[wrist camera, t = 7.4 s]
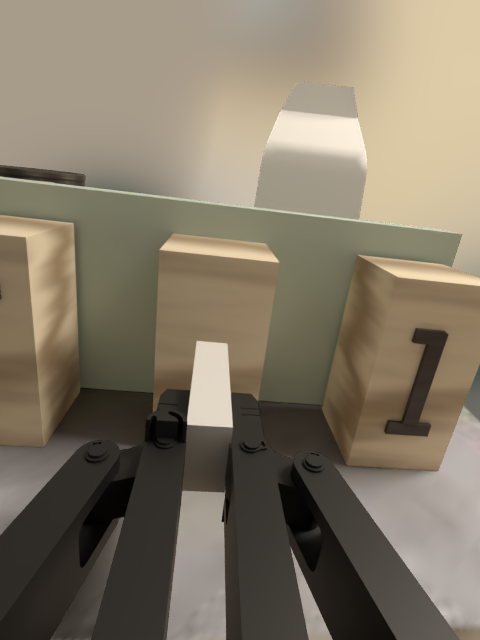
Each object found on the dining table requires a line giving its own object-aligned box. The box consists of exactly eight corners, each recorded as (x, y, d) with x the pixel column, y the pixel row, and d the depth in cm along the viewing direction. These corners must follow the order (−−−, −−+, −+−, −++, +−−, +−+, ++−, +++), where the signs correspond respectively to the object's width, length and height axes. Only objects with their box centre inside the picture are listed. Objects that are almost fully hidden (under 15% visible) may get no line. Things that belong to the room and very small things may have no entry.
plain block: (249, 453, 23) (279, 262, 19) (151, 448, 22) (159, 249, 18) (243, 399, 28) (265, 243, 24) (164, 394, 28) (173, 233, 24)
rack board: (405, 411, 30) (462, 234, 25) (-17, 380, 27) (-46, 173, 22) (392, 394, 32) (442, 229, 27) (2, 364, 29) (-21, 174, 24)
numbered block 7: (41, 450, 21) (23, 238, 17) (-71, 444, 20) (-119, 223, 16) (80, 391, 27) (73, 223, 23) (-7, 385, 26) (-30, 211, 22)
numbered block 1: (440, 473, 23) (511, 290, 19) (348, 468, 23) (400, 278, 18) (395, 414, 29) (442, 264, 25) (321, 409, 28) (357, 254, 24)
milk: (234, 326, 43) (266, 62, 34) (242, 298, 53) (268, 92, 44) (338, 341, 42) (399, 76, 33) (325, 309, 53) (368, 104, 44)
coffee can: (77, 267, 59) (73, 172, 54) (97, 284, 51) (95, 176, 46) (0, 269, 52) (-12, 162, 48) (11, 290, 45) (-2, 166, 40)
